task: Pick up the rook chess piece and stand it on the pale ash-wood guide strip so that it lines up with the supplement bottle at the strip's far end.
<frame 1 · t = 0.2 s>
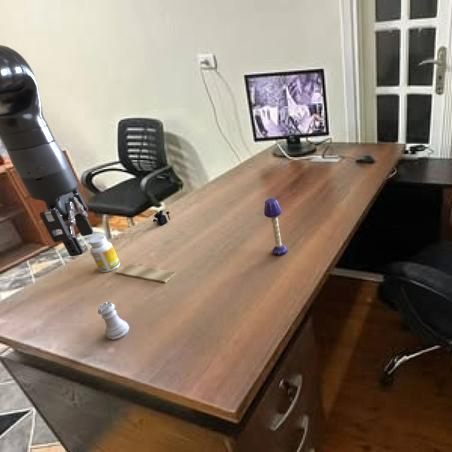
hand: (83, 244, 71), 21 cm above the table, tool pointing down, fingers open, 8 cm apart
rook chess piece: (119, 333, 77), on the table
toy lamp: (280, 253, 101), on the table
supplement bottle: (110, 267, 101), on the table
guide strip: (145, 273, 97), on the table
wireless earbuds: (163, 224, 123), on the table
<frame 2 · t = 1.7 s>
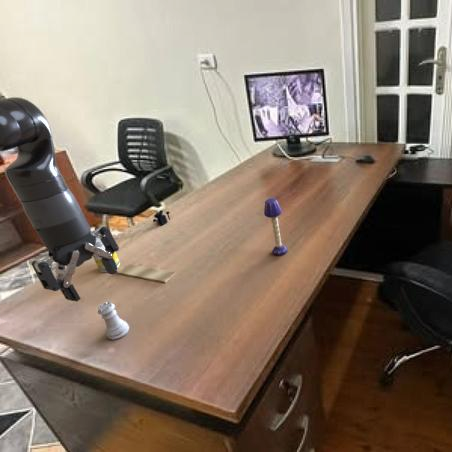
hand: (95, 286, 71), 13 cm above the table, tool pointing down, fingers open, 8 cm apart
nothing on the table moved.
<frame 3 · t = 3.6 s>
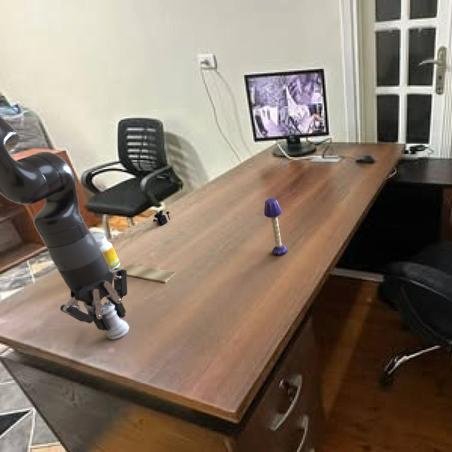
hand: (113, 322, 76), 3 cm above the table, tool pointing down, fingers closed on rook chess piece, 3 cm apart
rook chess piece: (119, 333, 77), on the table, touching gripper
everything else where it was.
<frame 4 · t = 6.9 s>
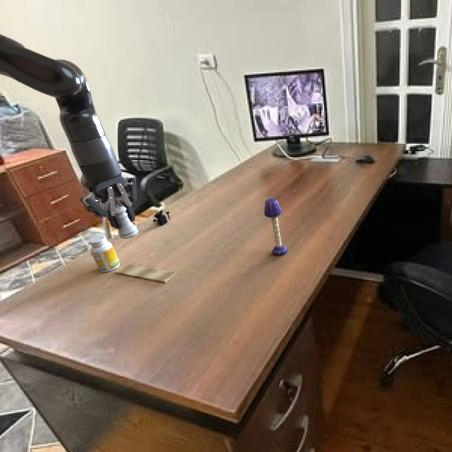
hand: (124, 224, 87), 17 cm above the table, tool pointing down, fingers closed on rook chess piece, 3 cm apart
rook chess piece: (129, 235, 88), point 13 cm above the table, touching gripper
everything else where it was.
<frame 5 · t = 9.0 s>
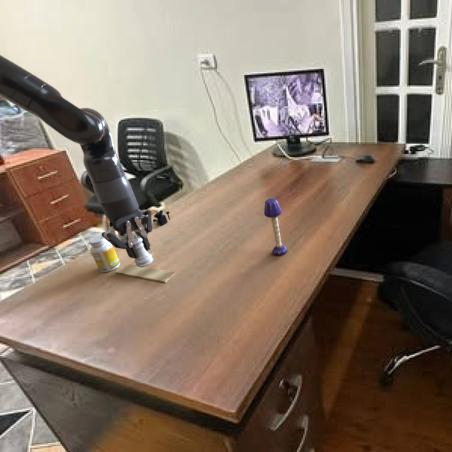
hand: (140, 253, 93), 7 cm above the table, tool pointing down, fingers closed on rook chess piece, 3 cm apart
rook chess piece: (145, 263, 95), point 4 cm above the table, touching gripper
everything else where it was.
when the fingers open (4 cm above the table, at t = 10.2 s): rook chess piece stays where it is, resting on guide strip.
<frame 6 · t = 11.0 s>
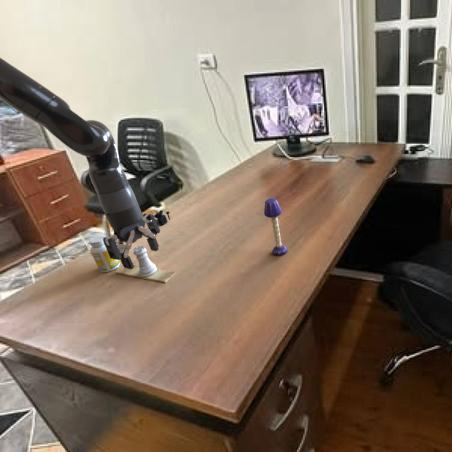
hand: (143, 258, 94), 5 cm above the table, tool pointing down, fingers open, 8 cm apart
rook chess piece: (149, 273, 96), resting on guide strip
everything else where it was.
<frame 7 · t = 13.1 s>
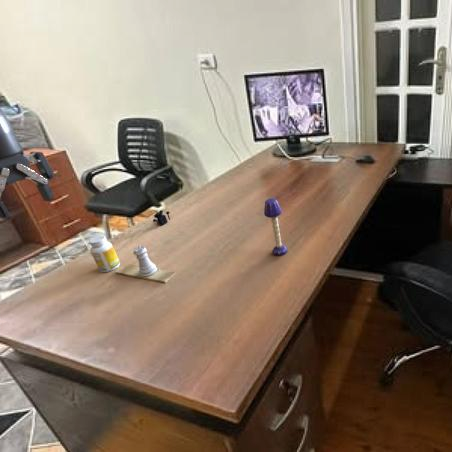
hand: (28, 209, 74), 27 cm above the table, tool pointing down, fingers open, 8 cm apart
nothing on the table moved.
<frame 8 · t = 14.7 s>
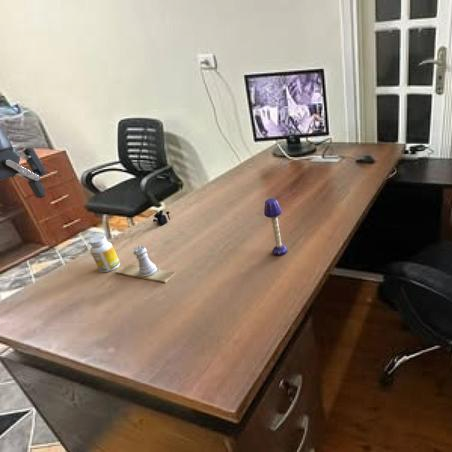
hand: (20, 206, 72), 28 cm above the table, tool pointing down, fingers open, 8 cm apart
nothing on the table moved.
at the end: rook chess piece 0.0 cm from the target spot, resting on guide strip; rook chess piece tilted 0°; supplement bottle moved 0.2 cm from its start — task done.
